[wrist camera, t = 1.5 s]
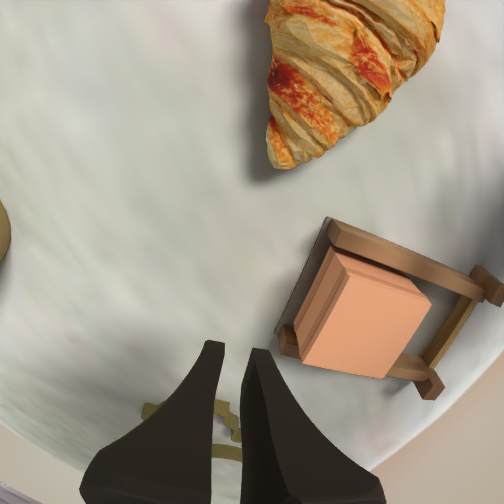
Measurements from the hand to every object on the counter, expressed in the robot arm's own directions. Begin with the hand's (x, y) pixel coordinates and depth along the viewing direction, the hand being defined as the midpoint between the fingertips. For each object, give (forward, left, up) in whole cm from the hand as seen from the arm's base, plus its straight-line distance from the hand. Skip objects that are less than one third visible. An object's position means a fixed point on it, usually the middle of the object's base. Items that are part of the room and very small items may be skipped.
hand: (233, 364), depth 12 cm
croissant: (-1, -17, -10) cm, 20 cm away
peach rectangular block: (-8, 0, -9) cm, 12 cm away
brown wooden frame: (-11, 0, -10) cm, 15 cm away
